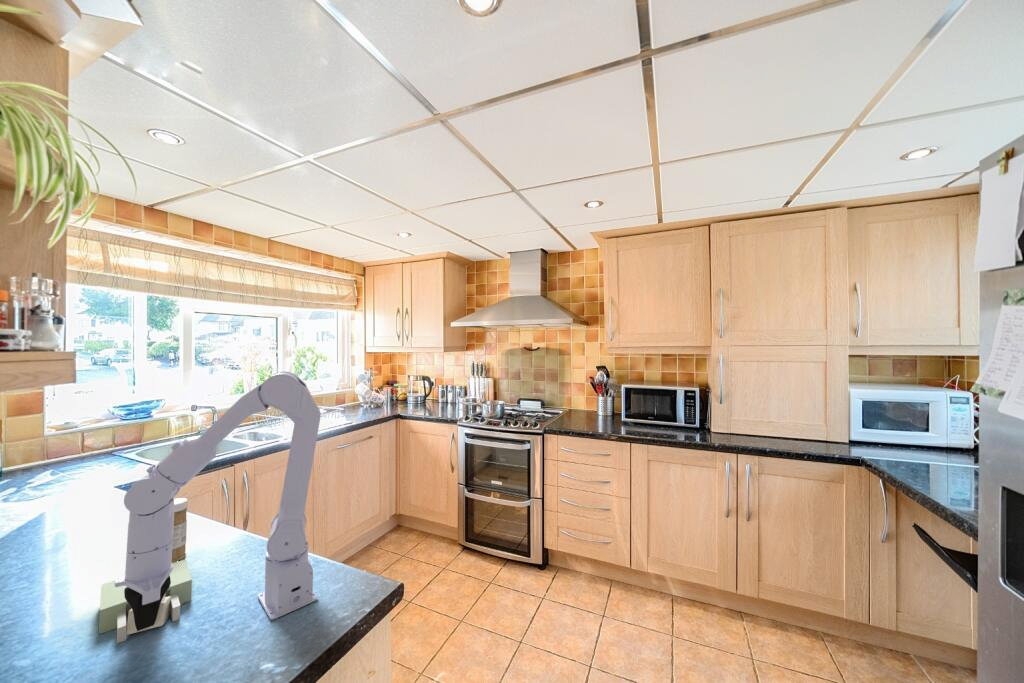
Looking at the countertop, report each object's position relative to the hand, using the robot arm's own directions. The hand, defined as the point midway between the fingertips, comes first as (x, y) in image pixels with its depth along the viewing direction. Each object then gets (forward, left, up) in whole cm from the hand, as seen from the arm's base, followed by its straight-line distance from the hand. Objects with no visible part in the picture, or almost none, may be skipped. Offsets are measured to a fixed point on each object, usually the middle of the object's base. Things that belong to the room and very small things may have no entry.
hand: (145, 626), depth 64 cm
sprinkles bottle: (+27, -6, -2) cm, 27 cm away
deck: (+8, -1, -1) cm, 8 cm away
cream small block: (+2, 0, -1) cm, 2 cm away
